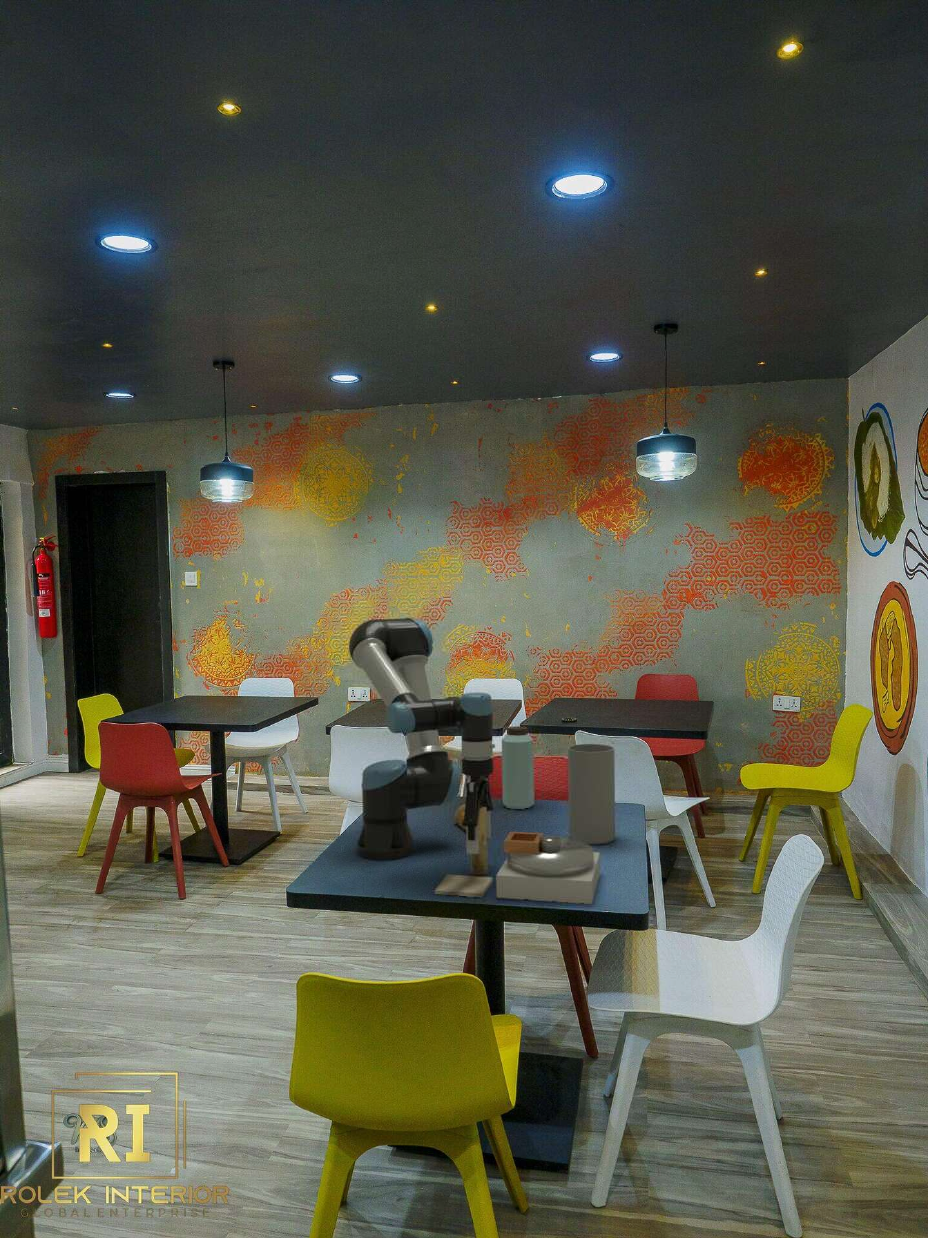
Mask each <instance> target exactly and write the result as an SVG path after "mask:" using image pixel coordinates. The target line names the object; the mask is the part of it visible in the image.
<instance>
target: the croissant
mask: <svg viewBox="0 0 928 1238" xmlns="http://www.w3.org/2000/svg"><path fill="white" fill-rule="evenodd" d="M464 814H465V803H464V804H462V805H460V806H459V807H458V809H456V811H455V813H454V820H455V822H456V823H457V826H459V827H461V828H462V829H463V830H465V831H466V826H463V824H462V823H463V822H464Z"/></svg>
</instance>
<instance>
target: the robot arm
mask: <svg viewBox="0 0 928 1238" xmlns="http://www.w3.org/2000/svg"><path fill="white" fill-rule="evenodd" d="M431 632H432V631H431V629H430V627H429V624H427V623H426V622H425V621H423V620H422V619H421V618H412V617H404V618H382V619H380V618H376V619H375V618H373V619H369V620H367V621H364V622H362V623H360V625H358V626H357V627H356V629H354V631H353V632H352V633H351V636H350V638H349V643H348V652H349V655H350V658H351V659H352V661H353V663H354V664H355V666H357V667H358V668H359V669H362V670H363V671H364V673H365V675H366V676H367V677H368V680H369V681H370V683H371V684H372V685H373V687H374V689H375V690H376V691H377V694H378V695H379V696H380V698H381V699H382V701H383V702H384V705H385V706H386V707H387V708H386V711H385V721H386V723H387V726H386V727H387V728H388V730H389V731H390V732H391V733H393V734H405V735H406V738H407V743H408V748H409V754H408V756H407V757H406V759H405V760H403V759H391V760H390V759H387V760H382V761H378V762H374V763H371V764H370V765H368V766H367V767H365V768H364V769H363V771H362V779H361V780H362V781H361V795H362V796H361V797H362V799H361V800H362V825H361V829H360V831H359V836H358V838H357V843H356V854H357V856H359V857H361V858H364V859H367V860H368V859H369V860H375V861H376V860H377V861H387V860H397V859H401V858H405V857H407V856H410V855H412V854H413V853H414V852H415V840H414V838H413V835H412V834H413V833H412V832H411V829H410V825H409V823H408V822H409V821H408V810H412V809H422V808H428V807H435V806H437V807H440V806H442V805H446V804H450V803H453V802H454V801H456V799H457V797H458V796H459V792H460V789H461V784H462V783H461V782H462V781H461V780H462V776H461V773H462V774H463V776H469V779H470V780H469V782H466V788H465V789H466V791H465V792H466V793H465V803H464V804H465V814H464V822H463V823H462V824H463V826H466V830H465V832H466V833H465V834H466V835H465V836H466V837H465V838H466V854H470V855H471V854H478V853H479V842H478V825H477V820H478V813H479V805H481V806H486V807H487V839H491V836H492V829H491V827H492V825H491V823H492V822H491V811H494V805H493V799H492V793H491V787H490V777H489V776H490V775H493V773H494V759H493V758H492V756H493V755H494V751H493V749H495V748H496V744H494V743H493V731H494V730H493V727H494V726H493V711H494V710H493V709H494V708H493V704H492V703H493V701H492V696H491V694H489V693H486V692H467V693H463V694H462V695H461V697H459V696H446V697H444V698H439V699H432V696H431V692H430V687H429V682H428V676H427V673H426V672H427V671H426V665H427V664H428V662H429V657H430V656H431V655H432V652H433V649H434V646H433V644H434V640H433V639H434V638H433V635H432V633H431ZM453 729H459V730H460V731H461V757H462V760H461V769H460V766H459V764H458V762H457V760H455V759H452V758H450V757H449V752H448V751H447V750H446V749H444V748H443V747H442V746H441V741H440V735H439V730H440V731H441V730H453Z"/></svg>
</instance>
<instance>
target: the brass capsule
mask: <svg viewBox="0 0 928 1238" xmlns="http://www.w3.org/2000/svg"><path fill="white" fill-rule="evenodd" d="M477 825H478V842H479V853H478V854H470V874H471V876H475V875H483V876H486V875H488V838H487V807H486V806H481V805H479V813H478V820H477Z"/></svg>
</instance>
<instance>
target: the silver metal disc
mask: <svg viewBox="0 0 928 1238" xmlns="http://www.w3.org/2000/svg"><path fill="white" fill-rule="evenodd" d="M503 852H504V853H506V859H507V865H508V866H509V867H510V868H512V869H514V870H516V871H518V872H521V873H525V874H530V875H536V876H568V875H575V874H579V873H583V872H585V871H587V870H589V869H591V868H592V867H593V865H594V852H595V850H594V848H593V847H592V846H591V845H590V844H587V843H584V842H582V841H578V840H574V839H571V838H570V837H560V836H557V835H550V834H549V835H545V834H544V833H543V832H528V831H526V832H525V831H510V832H509V833H508V834H507V836H506V837H505V839H504V840H503Z"/></svg>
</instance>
